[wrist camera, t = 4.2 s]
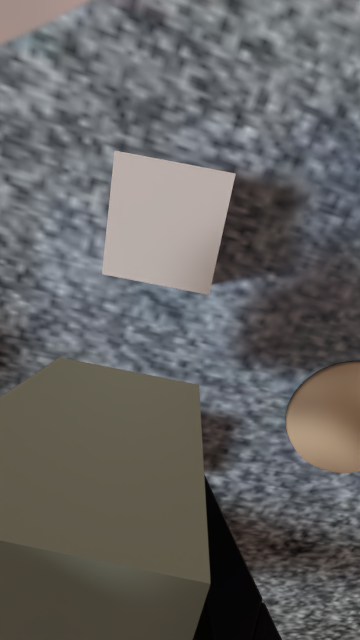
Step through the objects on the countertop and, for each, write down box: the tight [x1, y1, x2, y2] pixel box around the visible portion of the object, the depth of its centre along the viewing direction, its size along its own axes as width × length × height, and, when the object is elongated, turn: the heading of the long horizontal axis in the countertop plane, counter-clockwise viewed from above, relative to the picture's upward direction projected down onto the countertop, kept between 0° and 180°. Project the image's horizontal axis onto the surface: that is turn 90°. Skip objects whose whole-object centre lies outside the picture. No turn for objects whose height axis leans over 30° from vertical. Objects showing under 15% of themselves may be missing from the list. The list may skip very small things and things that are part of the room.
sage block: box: [0, 357, 211, 640], centre depth 6 cm, size 5×5×5 cm
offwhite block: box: [102, 151, 235, 295], centre depth 12 cm, size 5×5×5 cm
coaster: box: [285, 362, 360, 473], centre depth 16 cm, size 9×9×1 cm
